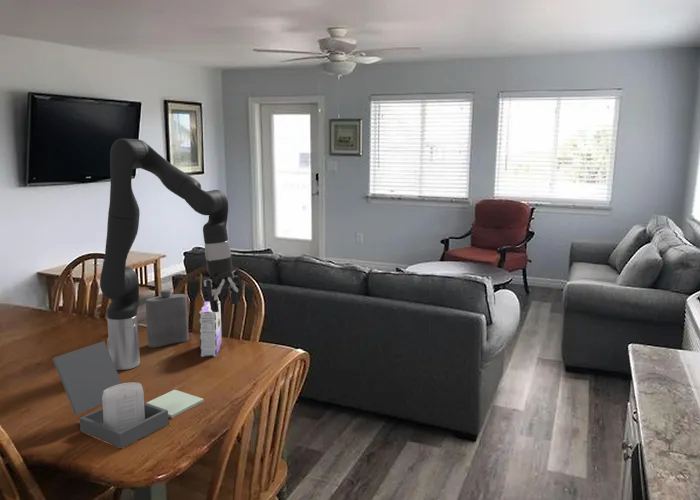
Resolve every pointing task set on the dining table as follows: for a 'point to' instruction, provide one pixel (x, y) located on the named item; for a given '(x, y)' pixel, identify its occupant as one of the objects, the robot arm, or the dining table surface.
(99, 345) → the case lid
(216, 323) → the candy box
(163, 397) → the mat
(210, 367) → the dining table surface
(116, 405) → the white slotted device
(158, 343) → the flask
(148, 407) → the case
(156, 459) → the dining table surface
